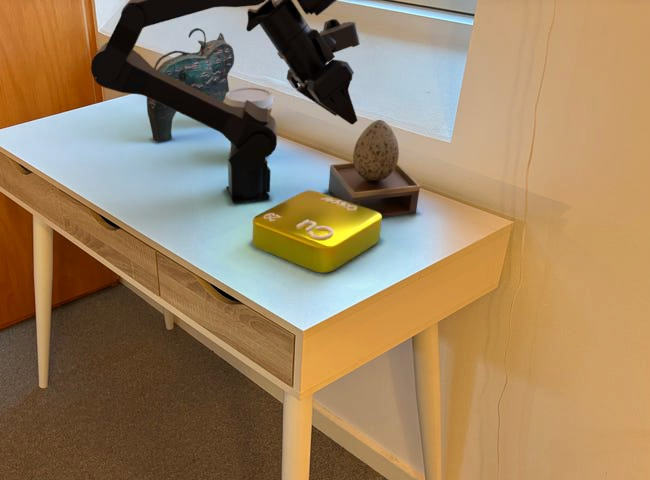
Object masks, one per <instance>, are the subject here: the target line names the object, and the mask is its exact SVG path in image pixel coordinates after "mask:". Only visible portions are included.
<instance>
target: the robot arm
mask: <svg viewBox="0 0 650 480" xmlns="http://www.w3.org/2000/svg"><path fill="white" fill-rule="evenodd" d="M296 1H297V3H298V5H299V6H300V8H301V9H302V11H303V12H304V14H305V15H307V16H308V15H314V16H317V17H318V16H319V15H320V14H321V13H323V12H324V11H325V10H326V9H328V8H329V7H330V6H332V5H333V4H335V3H336V2H337V1H338V0H296ZM261 4H262V5H261ZM259 5H261V6H259ZM253 6H259V7H258V8H257V9H253V8H248V9H247V11H246V12H247V13H246V14H247V24H246V31H247V32H251V31H253V29H255V28H256V27H257V26H258V25H260V28H261V29H262V30H263V31H264V33H265V34H266V36H267V37H268V39H269V40H270V42H271V43H272V45H273V47H274V48H275V49H276V50H277V52H276V54H277V56H278V57H279V59H281V60H283V61H284V62H285V64H286V65H287V67H288V68H289V69H288V70H287V74H286V80H287V81H288V83H289V84H290V85H291V87H292V88H293V89H295V90H296V92H298V93H299V94H301V95H303V96H305V97H306V98H307V99H309V100H310V101H312V102H313V103H314V104H316V105H318V106H319V107H321V108H323V109H324V110H325V111H327V112H329V113H330V114H331V115H333V116H335V117H337V116H338V117H340V118H341V119H342V120H344V121H345V122H347V123H349V124H350V125H354V124H355V123H357V122H358V117H357V113H356V111H355V108H354V104H353V102H352V99H351V98H352V97H351V94H350V91H349V88H350V84H351V81H353V77H354V76H353V75H354V73H355V72H354V70H353V69H352V67H351V66H350V64H349V63H348V61H346V60H345V61H344V60H342V59H335V58H336V56H335V53H338V52H340V51H343V50H345V49H349V48H351V47H352V48H354V47H358V46H359V45H361V41H360V36H359V30H358V26H357V22H354V21H347V22H345V21H344V22H342V23H340V22H339V21H338V19H336V18H331V19H329V20H326V21H324V24H323V29H322V30H320V31H318V29H314V28H311V27H310V25H309V24H308V22H307V21H306V20H305V18H304V16H303V15H302V13H301V12H300V10H299V9H298V7H297V6H296V4H295V3H294V1H293V0H129V1H127V2H126V4H125V5H124V6H123V8H122V10H121V13H120V17H119V19H118V21H117V23H116V24H115V25H116V26H115V27H114V30H113V31H112V33H111V35H110V38H109V40H108V41H107V42H105V43H104V44H103V45H102V46H100V48H99V49H98V51H97V52H96V54H94V57H93V58H92V60H91V64H90V71H91V75H92V77H93V80H94V81H95V83H96V84H98V86H100V87H102V88H104V89H108V90H111V91H114V92H118V93H122V94H130V95H140V96H143V97H145V98H147V97H148V98H150V99H152V100H154V101H156V102H158V103H160V104H163V105H165V106H167V107H169V108H171V109H173V110H175V111H177V112H176V113H179V114H181V115H184V116H185V117H188V118H189V119H192V120H194V121H196V122H197V123H200V124H203V125H205V126H206V127H207V128H210V129H213V130H215V131H217V132H219V133H220V134H222V136H224V138H226V139H227V140H228V142H229V143H230V142H231V143H230V151H229V158H228V159H227V182H228V183H227V184H228V185H227V186H225V189H226V192H227V194H228V196H229V198H230V201H231V202H232V204H241V203H252V202H263V201H269V200H270V195H269V193H270V192H271V168H270V167H269V166H268V161H267V159H266V158H268V157H270V156H271V155H272V154H273V153H274V151H275V150H276V147H277V144H278V126H277V123H276V120H275V118H274V117H273V116H272V114H271V115H269V114H268V109H263V108H260V107H257V106H256V105H255V104H253V103H252V102H250V101H248V100H246V102H245V105H244V107H233V106H230V105H228V104H226V103H224V102H221V101H219V100H217V99H215V98H213V97H211V96H209V95H207V94H205V93H203V92H201V91H199V90H197V89H195V88H193V87H191V86H189V85H187V84H185V83H183V82H181V81H178V80H176V79H174V78H172V77H170V76H168V75H166V74H164V73H162V72H160V71H158V70H157V68H156V69H154V66H152V65H151V64H150V63H149V62H148V61H147V60H146V59H145V58H144V57H143V56H142V55H141V54H140V53H138V52H137V51H135V50H134V48H135V46H136V44H137V42H138V40H139V37H140V35H141V33H142V31H143V30H144V29H145V28H147V27H150V26H153V25H154V26H155V25H157V24H160V23H164V22H167V21H171V20H175V19H179V18H182V17H185V16H189V15H192V14H193V15H194V14H196V13H199V12H202V11H206V10H209V9H213V8H244V7H253Z"/></svg>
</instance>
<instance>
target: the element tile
mask: <svg viewBox="0 0 650 480" xmlns="http://www.w3.org/2000/svg"><path fill="white" fill-rule="evenodd" d="M382 222H383V217H382V216H381V214H380V213H378V212H376V211H374V210H371V209H368V208H365V207H362V206H359V205H356V204H353V203H350V202H347V201H344V200H340V199H337V198H334V197H333V196H332V195H329V194H325V193H322V192H319V191H315V190H311V189H309V190H305V191H302V192H299V193H298V194H296V195H294V196H292V197H290V198H288V199H286V200H284V201H282V202H280V203H278V204H276V205H274V206H272V207H270V208H269V209H266V210H265V211H263V212H261V213H259V214H257V215H255V216H254V217H253V218H252V244H253V246H254V247H256V248H257V249H259V250H261V251H264V252H266V253H269V254H271V255H274V256H276V257H277V258H281V259H283V260H286V261H289V262H290V263H292V264H296V265H298V266H299V267H303V268H305V269H307V270H310V271H312V272H316V273H321V274H325V273H326V274H327V273H331V272H333V271H335V270H336V269H338V268H339V267H341V266H344V264H346V263H347V262H349V261H351V260H353V259H354V258H356V257H357V256H359V255H360V254H361V253H363V252H365V251H367V250H368V249H369V248H371V247H373V246H374V245H376V244H377V243H378V242H379V240H380V236H381V230H382V229H381V228H382Z"/></svg>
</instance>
